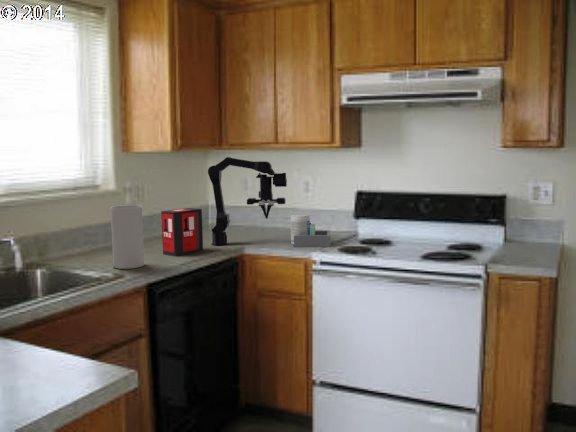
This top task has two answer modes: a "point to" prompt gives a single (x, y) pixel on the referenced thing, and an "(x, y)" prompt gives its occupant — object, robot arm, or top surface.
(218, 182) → the robot arm
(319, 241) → the grey tray
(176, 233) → the cleaning product box
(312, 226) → the plate
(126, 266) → the cylinder vase
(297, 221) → the supplement tub
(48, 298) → the top surface
